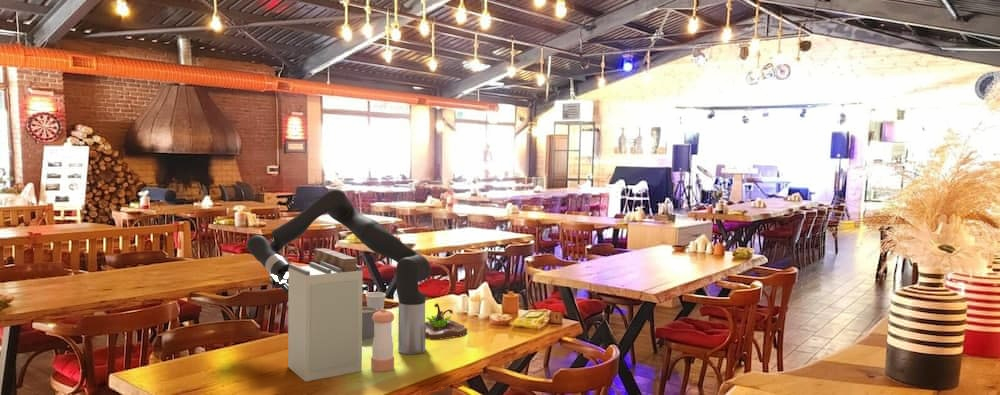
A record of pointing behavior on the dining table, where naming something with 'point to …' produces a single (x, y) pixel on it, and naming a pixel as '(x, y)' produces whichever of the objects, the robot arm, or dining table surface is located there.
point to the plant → (443, 326)
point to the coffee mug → (368, 322)
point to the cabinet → (324, 320)
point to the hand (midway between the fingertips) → (302, 290)
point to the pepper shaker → (382, 341)
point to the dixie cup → (375, 300)
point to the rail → (336, 259)
